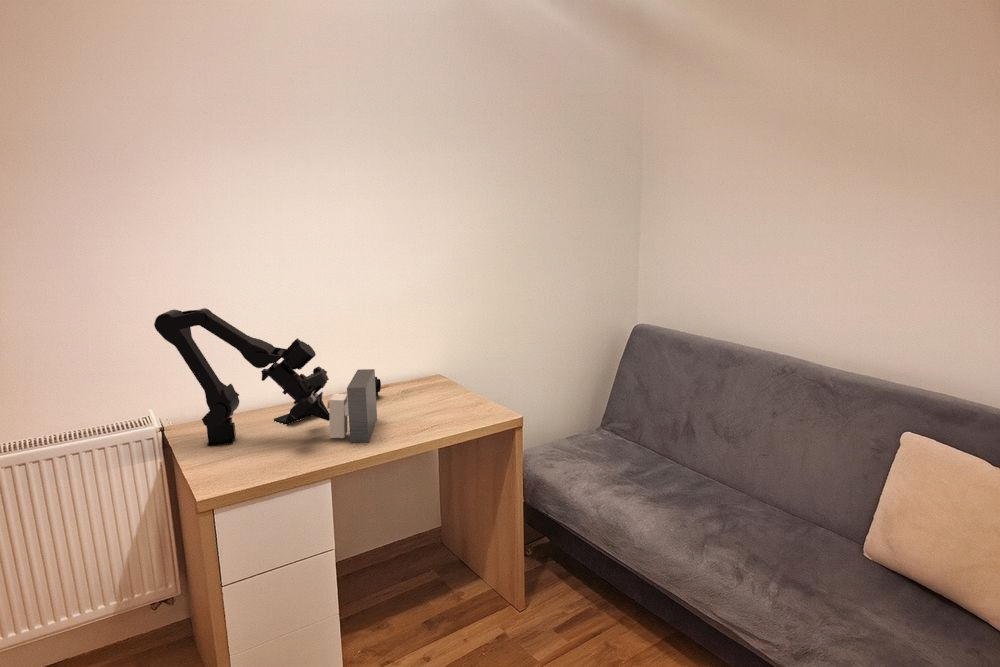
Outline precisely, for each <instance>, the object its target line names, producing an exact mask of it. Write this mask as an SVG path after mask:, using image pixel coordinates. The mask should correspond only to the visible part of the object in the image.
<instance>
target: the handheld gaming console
mask: <svg viewBox="0 0 1000 667" xmlns="http://www.w3.org/2000/svg"><path fill="white" fill-rule="evenodd" d="M308 416H309V417H312V416H311V415H308V414H301V415H300V416H299V417H298V418H297V419H294V418H293V417H292V416H291V415H290V412H289V413H287V414H284V415H280V416H278V417H274V418H273V422H275V421H276V423H278V422H280V423H279V424H281V423H283V424H282V425H285V424H287V425H290V424H292V422H293V423H295V422H294V421H296V422H298V421H301V420H304V419H306V418H309V417H308ZM305 417H306V418H305ZM303 418H304V419H303ZM300 419H301V420H300ZM297 420H298V421H297ZM289 423H290V424H289Z"/></svg>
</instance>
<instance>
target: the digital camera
mask: <svg viewBox="0 0 1000 667" xmlns="http://www.w3.org/2000/svg"><path fill="white" fill-rule="evenodd" d="M375 387H376V399H377V398H378V397H377V396H379V393H380V392H381V389H382V381H381V378H378V376H375Z"/></svg>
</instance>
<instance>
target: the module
mask: <svg viewBox="0 0 1000 667" xmlns="http://www.w3.org/2000/svg"><path fill="white" fill-rule="evenodd" d="M347 400H348V397H347V394H345V393H344V394H342V393H341V394H340V393H339V394H336V393H333V394H332V395H331V397H330V398H329V400H328V401H327V409H329V410H328V412H329V417H330V420H329V438H330V439H332V438H333V439H345V437H346V435H347V434H348V429H349V428H348V425H349V422H348V416H345V409H344V405H345V403H346V402H347Z"/></svg>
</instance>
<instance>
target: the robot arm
mask: <svg viewBox="0 0 1000 667" xmlns="http://www.w3.org/2000/svg"><path fill="white" fill-rule="evenodd" d="M153 325H154V328H155V330H156V331H157V333H158V334H159V335H160V336H161V337H162V338H163V339H164V340H165V341H166V342H168V343H170V344H171V345H173V346H174V347H175V349H176V350H177V352H179V354H180V356H181V358H182V359H183V360H184V362H185V364H186V365H187V366H188V369H190V372H191V373H192V375H193V376H194V377H195V379H196V381H197V382H198V383H199V385H200V386H201V388H202V390H203V391H204V396H205V401H206V405H207V406H208V409H209V411H208V412H207V413H206V414H205V415H204V416H203V417H202V418H201V421H202V423H203V425H204V426H205V427H206V434H207V443H206V446H207V447H214V446H224V445H231V444H233V442H234V441H235V439H236V436H237V434H236V433H237V432H236V423H235V422H233V417H232V416H233V415H234V412H235V411H236V410H237V409H238V407H239V405H240V398H239V396H240V394H239V393H238V392H237V391H236V390H235V387H234V385H233V384H232V383H229V384H228V385H226V384H225V383H223V382H222V381H221V380H220V378H219V377H218V376H217V374H216V372H215V371H214V370H213V368H212V366H211V364H210V363H209V362H208V360H207V358H206V356H205V355H204V354H203V353H202V350H201V349H200V348H199V346H198V345H197V343H196V341H195V340H194V338H193V335H192V330H191V328H192V327H196V326H197V327H198V326H199V327H201V328H203V329H205V330H206V331H207V332H209V333H210V334H213V335H214V336H216V337H217V338H219V339H220V340H222V341H224V342H225V343H226V344H228V345H230V346H232V347H233V348H234V349H236V350H237V351H238V352H239V353H240V354H241V355H242V357H243V359H244V360H246V361H247V363H249V364H250V365H251V366H252V367H254V368H256V369H262V370H261V381H262V382H264V381H265V380H267V379H268V377H269V378H270V379H271V380H273V381H274V382H275V384H277V385H278V386H279V387H280V388H281V389H282V390H283V391H282V394H283V395H285V396H286V395H288V396H289V397H291V398H292V399H293V400H294V401H293V404H294V405H293V406H292V407H291V408H290V410H289V413H290V415H291V416H292V417H293V418H294V419H297V418H298V417H299V416H300V415H301V414H308V415H312V416H311V417H315V418H319V419H322V420H324V421H328V422H330V417H329V410H328V407H327V406H326V405H325V404H324V402H323V394H324V393H323V391H320V390H321V389H323V388H324V387H325V386H326V384H327V383H328V381H329V380H330V378H329V376H328V375H327V373H328V371H327V370H325V368H322V367H320V366H316V367H314V368H313V370H312V373H311V374H309V375H307V376H306V375H305V374H304V373H300V374H299V373H298V372H297V371H296V370H299V371H300V370H302V369H303V368H304V367H305V366H306V365H307V364H308V363H309V362H310V361H311V360H312V359H313V358H315V357H316V352H315V350H314V349H313V347H312V346H311V345H310V344H308V343H306V342H304V341H303V340H300V339H299V338H296V339H295V340H294V341H292V342H291V344H290V345H289V346H288V347H287V348H282V347H276V346H275V345H273V344H271V343H269V342H267V341H265V340H263V339H261V338H255V337H252V336H250V335H248V334H246V333H244V332H243V331H242V330H239V329H238V328H237V327H235V326H233V325H232V324H231V323H229V322H227V321H226V320H224V319H223V318H221V317H220V316H218V315H216V314H215V313H213V312H212V310H210V309H208V308H205V307H203V308H200V309H193V310H184V311H182V310H179V309H170V310H168V311H165V312H163V313H161V314H158V316H156V318H155V320H154V324H153ZM281 359H282V361H281V362H278V361H280V360H281ZM269 365H270V366H269ZM268 366H269V367H268ZM266 367H268V368H266ZM319 391H320V393H319V394H318V392H319Z"/></svg>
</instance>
